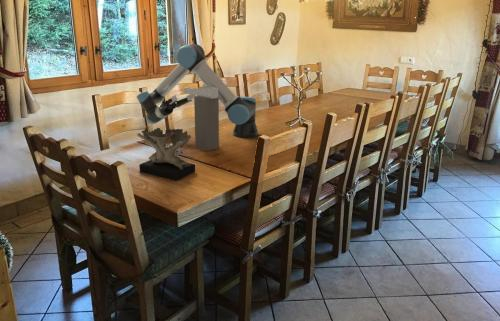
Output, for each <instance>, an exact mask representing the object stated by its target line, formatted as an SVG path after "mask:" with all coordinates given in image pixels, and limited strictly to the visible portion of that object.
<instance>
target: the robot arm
mask: <svg viewBox="0 0 500 321" xmlns="http://www.w3.org/2000/svg"><path fill="white" fill-rule="evenodd" d="M205 54H206V53H205V50H204V48H203V47H202V46H201V45H199V44H197V43H192V44H185V45H183V46H180V48H179V49H178V50H177V52H176V60H177V63H178V64H177V66H175V67H174V68H173V69H172V71H170V72H169V74H168V75H166V77H165V78H164V79H163V80H162V81H161V82H160V83H159V84H158V85H157V86H156V88H155V89H154V90H153V91H152V92H148V91H147V90H144V91H142V92H141V93H139V94H137V96H136V98H137V101H138V103H139V104H140V106H141V107H142V108H143V110H144V112H145V113H146V116H145V118H146V121H147V123H148V124H151V125H155V124H158V123H159V122H161V121H162V120H164V119H166V117H168V116H170V115H172V113H174V110H175V109H176V108H180V107H182V106H183V105H186V104H188V103H190V102H192V101H193V100H194V97H195V96H196V95H191V94H187V95H186V97H184V98H181V99H179V100H178V97H177V96H176V95H175V94H174V95H173V96H171V97H170V98H169V99H166V100H165V98H166V97H167V96H168V94H169V93H171V91H173V89H174V88H175V87H176V86H177V85H178V84H179V83H180V82H181V81H182V80H184V78H185V77H186V76H187V75H188V74H189V73H191V74H195V75H196V77H197V78H199V80H200V81H201V82H202V83H203V85H204V86H209V87H215V88H218V97H219V102H220V103H221V104H222V106H223V110H224V112H225V113H226V114H227V117H228V120H229V121H230V122H231V123H232V124H234V127H233V130H232V135H233V136H235V137H236V138H245V139H246V138H248V139H249V138H254V137H255V138H256V137H257V136H258V135H259V130H258V126H257V124H256V115H257V114H256V112H257V110H256V109H257V99H256V97H252V96H240V95H235V93H233V91H232V90H231V89H230V88H229V87H228V86H227V85H226V83H224V81H223V80H222V79H221V78H220V77H219V75H218V74H217V73H216V72H215V70H213V69H212V68H211V67H210V66H209V64H208V63H207V58H206V55H205ZM164 100H165V101H164ZM158 104H160V105H158Z"/></svg>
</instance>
